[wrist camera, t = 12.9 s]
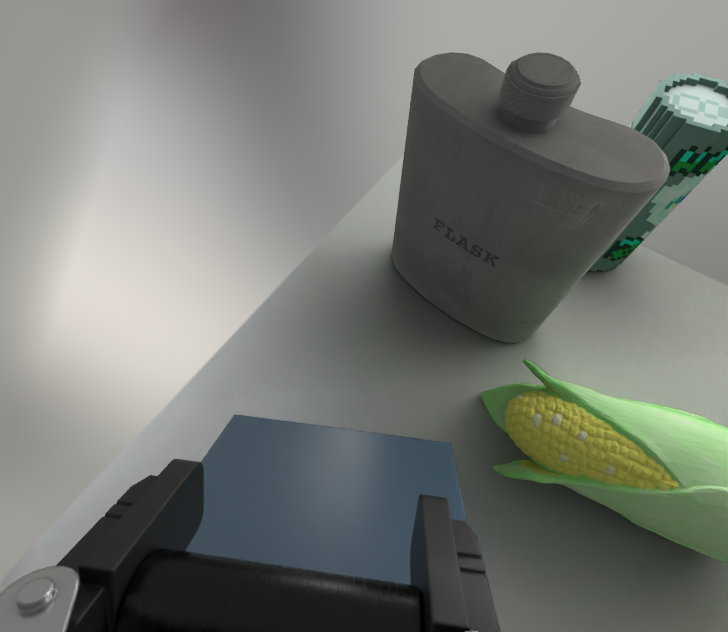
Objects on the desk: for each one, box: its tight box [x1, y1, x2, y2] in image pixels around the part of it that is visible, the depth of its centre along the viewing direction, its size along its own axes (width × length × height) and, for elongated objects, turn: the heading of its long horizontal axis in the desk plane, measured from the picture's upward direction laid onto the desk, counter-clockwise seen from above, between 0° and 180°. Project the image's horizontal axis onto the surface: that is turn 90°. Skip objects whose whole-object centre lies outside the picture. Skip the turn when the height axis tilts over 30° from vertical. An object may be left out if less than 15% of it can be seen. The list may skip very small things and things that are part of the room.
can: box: [589, 73, 728, 272], centre depth 33 cm, size 6×6×15 cm
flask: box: [392, 53, 670, 343], centre depth 28 cm, size 15×6×20 cm, turn 49°
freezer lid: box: [113, 415, 467, 632], centre depth 14 cm, size 14×12×5 cm
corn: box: [481, 360, 728, 563], centre depth 26 cm, size 8×8×20 cm
